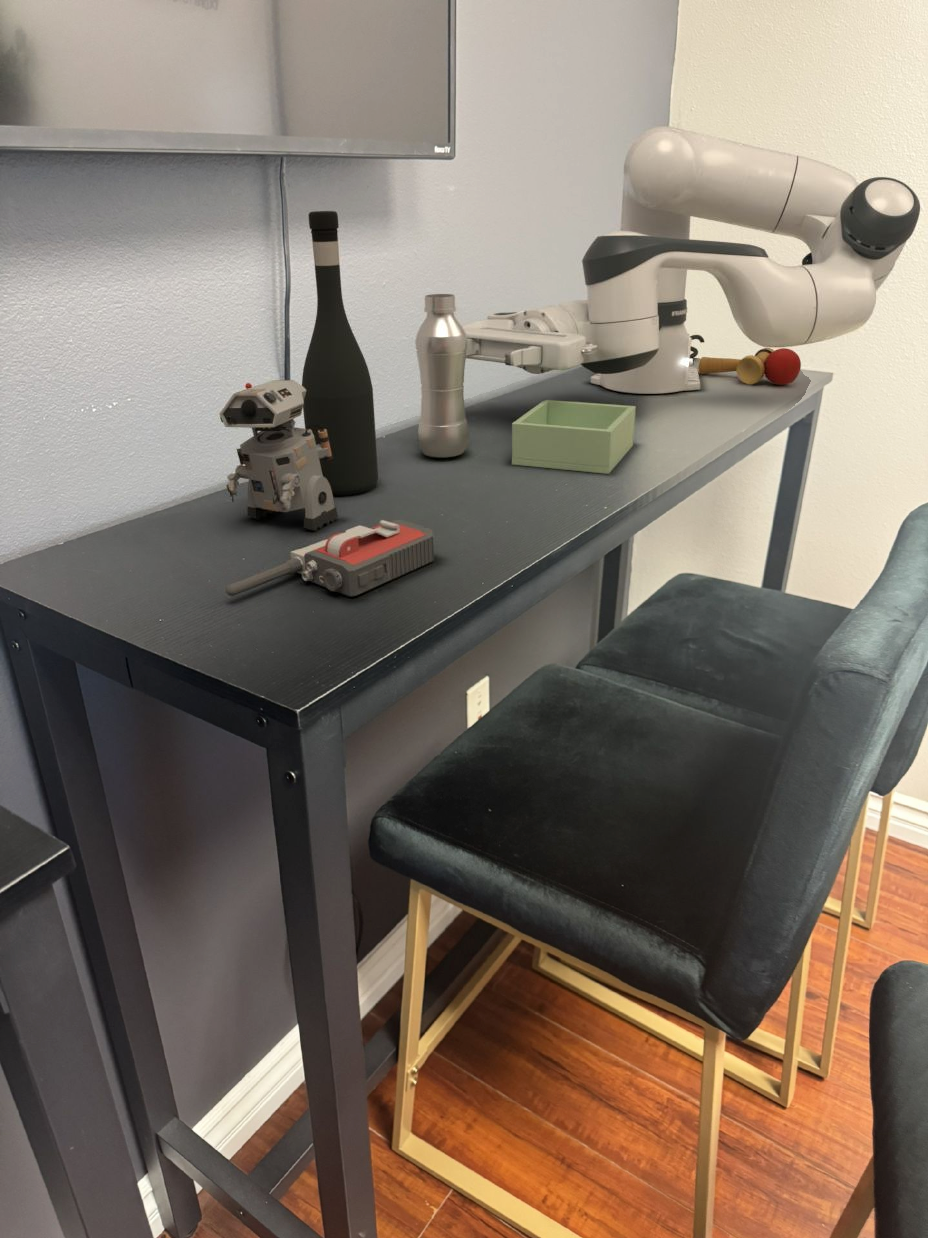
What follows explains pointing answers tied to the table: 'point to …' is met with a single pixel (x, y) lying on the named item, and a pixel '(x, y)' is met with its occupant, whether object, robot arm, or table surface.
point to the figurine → (280, 454)
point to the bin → (573, 436)
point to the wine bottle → (338, 374)
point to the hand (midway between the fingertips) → (480, 355)
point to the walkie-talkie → (354, 558)
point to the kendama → (757, 366)
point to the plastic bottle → (442, 379)
